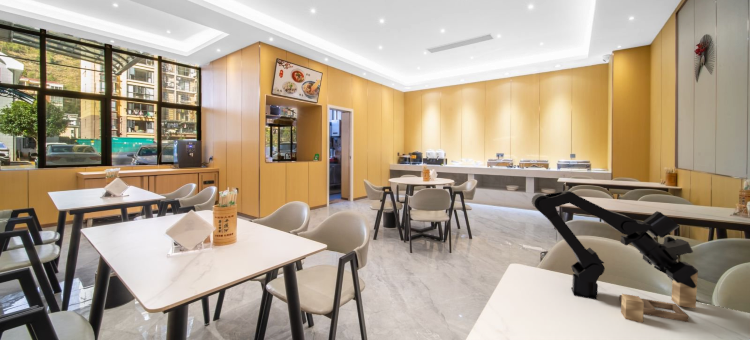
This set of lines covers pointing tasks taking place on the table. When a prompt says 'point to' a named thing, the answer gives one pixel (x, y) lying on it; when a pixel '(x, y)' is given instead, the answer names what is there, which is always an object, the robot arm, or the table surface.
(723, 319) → the table surface
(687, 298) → the long peg
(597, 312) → the table surface
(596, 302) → the table surface
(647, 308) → the socket board
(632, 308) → the short peg
